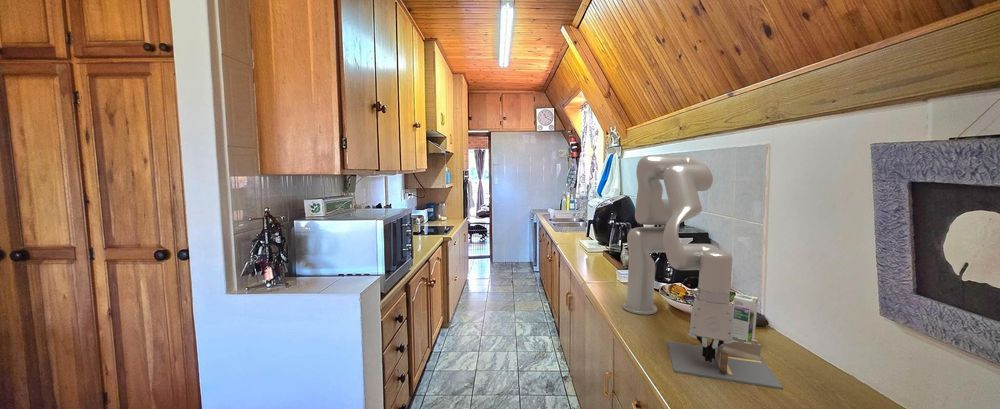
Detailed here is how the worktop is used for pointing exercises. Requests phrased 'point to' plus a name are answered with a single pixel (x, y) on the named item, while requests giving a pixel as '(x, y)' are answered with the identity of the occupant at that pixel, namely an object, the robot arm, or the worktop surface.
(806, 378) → the worktop surface
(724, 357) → the fence gate
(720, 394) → the worktop surface
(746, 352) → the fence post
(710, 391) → the worktop surface
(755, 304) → the syrup box
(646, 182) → the robot arm
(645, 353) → the worktop surface
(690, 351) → the card
